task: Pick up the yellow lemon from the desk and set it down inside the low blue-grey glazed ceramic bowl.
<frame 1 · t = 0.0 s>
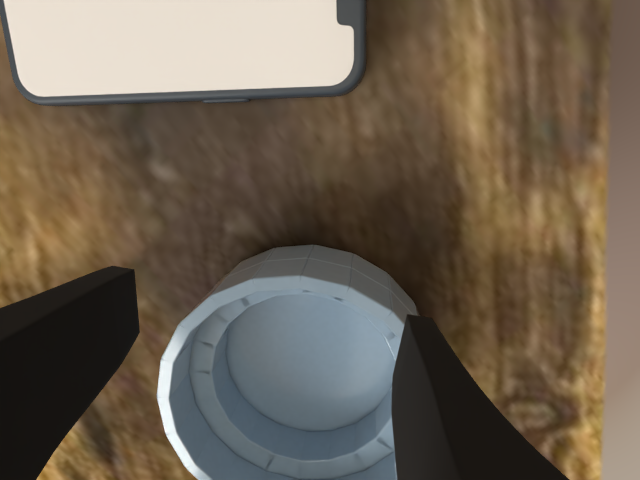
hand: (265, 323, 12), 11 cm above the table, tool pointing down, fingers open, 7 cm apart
smartphone: (186, 0, 20), on the table
bowl: (310, 352, 23), on the table
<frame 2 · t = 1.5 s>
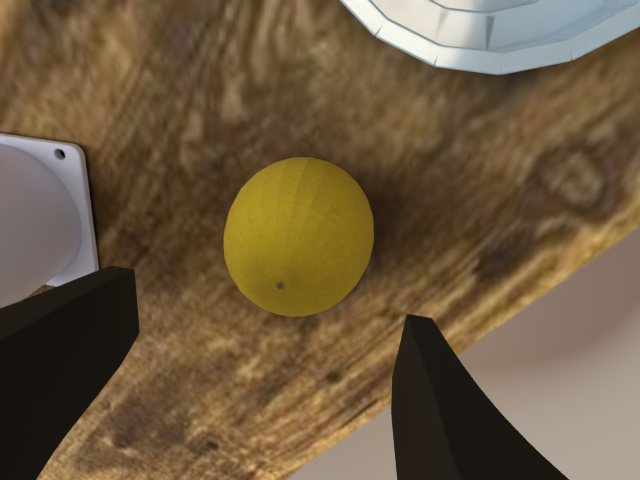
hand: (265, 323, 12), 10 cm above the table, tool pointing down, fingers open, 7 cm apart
lemon: (315, 196, 21), on the table
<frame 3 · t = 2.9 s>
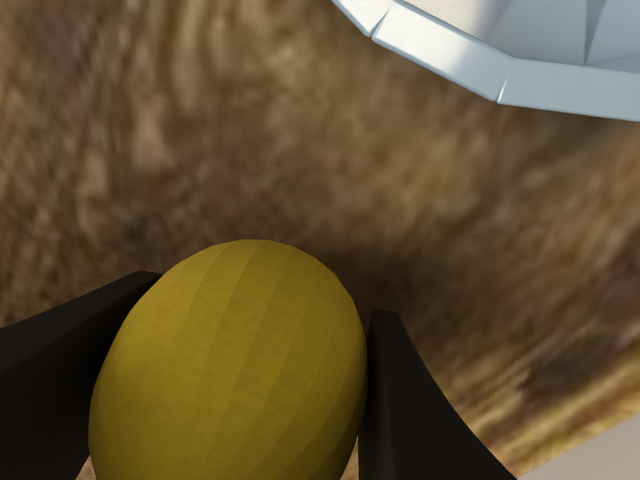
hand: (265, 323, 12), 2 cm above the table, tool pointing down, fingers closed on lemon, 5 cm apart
lemon: (282, 277, 14), on the table, touching gripper
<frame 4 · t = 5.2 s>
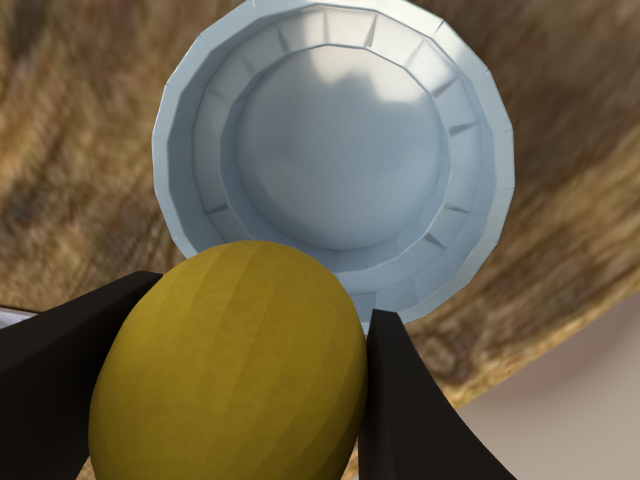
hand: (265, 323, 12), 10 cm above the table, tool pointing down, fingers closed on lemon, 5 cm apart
lemon: (282, 278, 14), point 8 cm above the table, touching gripper
bowl: (337, 154, 19), on the table
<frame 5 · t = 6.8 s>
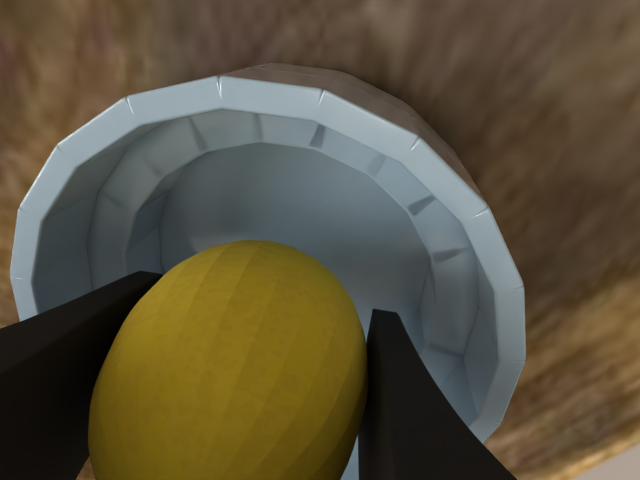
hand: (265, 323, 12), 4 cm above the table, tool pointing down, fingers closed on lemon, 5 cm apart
lemon: (282, 278, 14), point 2 cm above the table, touching gripper
bowl: (293, 255, 15), on the table
when the fingers open (3 cm above the table, at t = 7.7 s): lemon stays where it is, resting on bowl.
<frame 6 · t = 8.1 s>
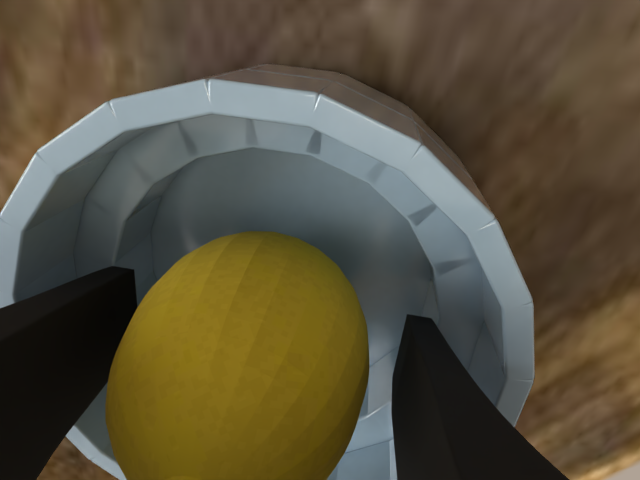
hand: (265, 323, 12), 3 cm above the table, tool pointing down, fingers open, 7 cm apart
lemon: (286, 269, 14), resting on bowl
bowl: (289, 263, 15), on the table
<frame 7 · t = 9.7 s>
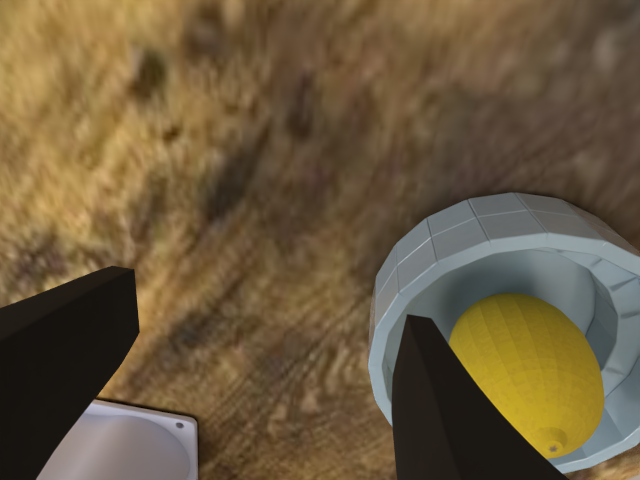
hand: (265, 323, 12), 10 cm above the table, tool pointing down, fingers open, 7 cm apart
lemon: (494, 309, 22), resting on bowl
bowl: (493, 304, 22), on the table
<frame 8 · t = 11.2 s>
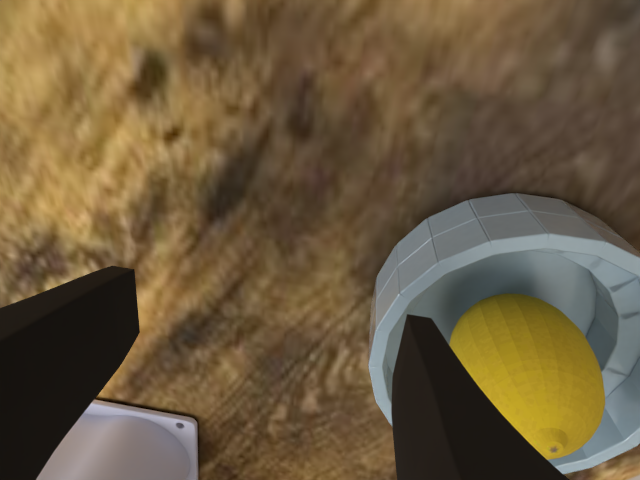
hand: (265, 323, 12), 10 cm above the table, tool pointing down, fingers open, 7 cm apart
lemon: (495, 310, 22), resting on bowl
bowl: (494, 305, 22), on the table
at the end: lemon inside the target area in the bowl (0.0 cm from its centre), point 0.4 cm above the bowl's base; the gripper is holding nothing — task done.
